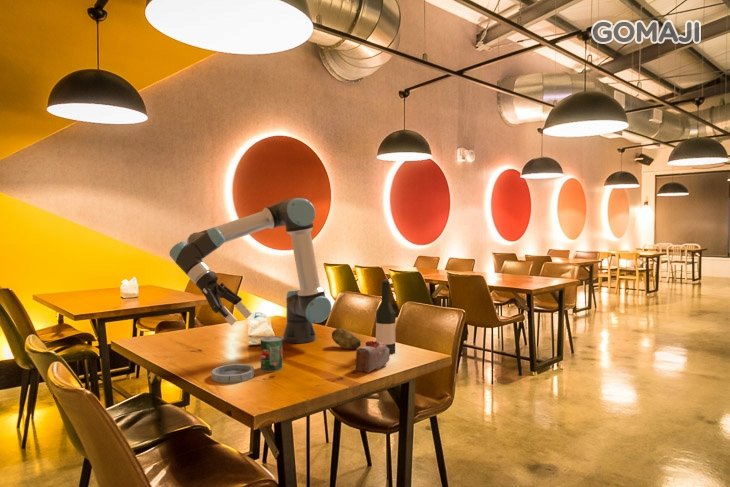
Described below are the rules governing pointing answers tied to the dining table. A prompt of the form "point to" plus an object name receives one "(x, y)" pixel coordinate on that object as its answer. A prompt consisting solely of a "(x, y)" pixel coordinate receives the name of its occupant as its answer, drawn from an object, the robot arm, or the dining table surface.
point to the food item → (372, 356)
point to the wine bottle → (386, 319)
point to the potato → (345, 339)
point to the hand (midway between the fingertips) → (241, 319)
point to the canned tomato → (271, 353)
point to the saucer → (233, 373)
